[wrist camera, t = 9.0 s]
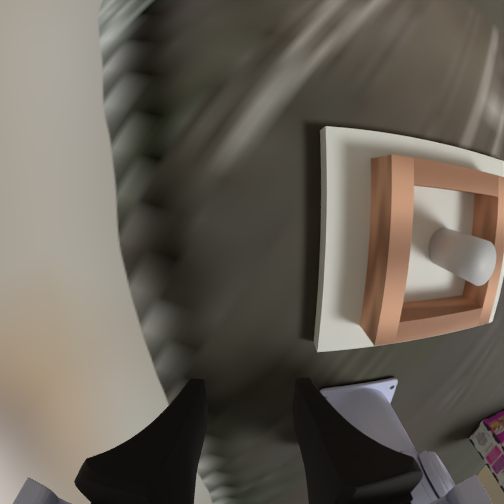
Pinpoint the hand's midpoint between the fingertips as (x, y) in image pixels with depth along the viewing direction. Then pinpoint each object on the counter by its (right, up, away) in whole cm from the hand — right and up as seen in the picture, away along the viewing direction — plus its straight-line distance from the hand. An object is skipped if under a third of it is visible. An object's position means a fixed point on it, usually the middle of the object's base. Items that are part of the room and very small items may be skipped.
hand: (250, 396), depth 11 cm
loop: (+14, +7, +7) cm, 17 cm away
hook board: (+15, +7, +8) cm, 18 cm away
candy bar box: (+42, -23, +16) cm, 51 cm away
